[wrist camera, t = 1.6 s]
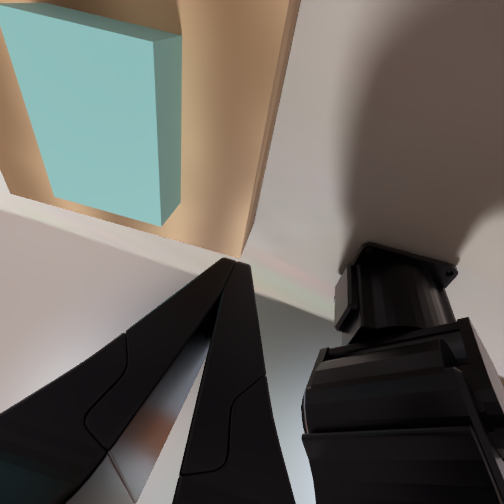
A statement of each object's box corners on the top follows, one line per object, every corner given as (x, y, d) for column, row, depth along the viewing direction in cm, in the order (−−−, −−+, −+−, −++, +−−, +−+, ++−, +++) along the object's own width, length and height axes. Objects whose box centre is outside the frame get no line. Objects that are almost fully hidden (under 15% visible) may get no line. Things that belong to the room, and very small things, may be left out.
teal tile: (182, 35, 12) (153, 42, 10) (180, 202, 17) (161, 226, 16) (45, 2, 13) (-7, 3, 11) (84, 176, 18) (54, 196, 16)
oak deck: (308, -37, 13) (298, -48, 10) (253, 223, 22) (240, 258, 19) (-30, -110, 14) (-132, -141, 11) (53, 168, 23) (10, 193, 20)
